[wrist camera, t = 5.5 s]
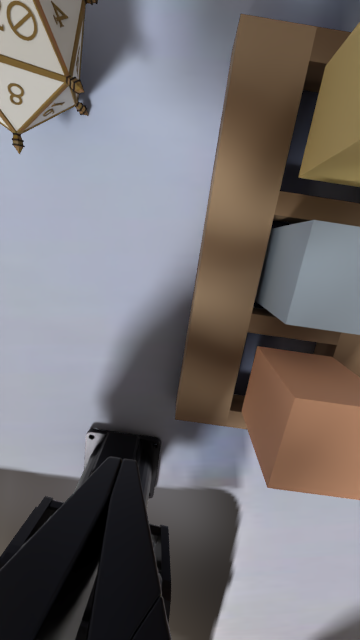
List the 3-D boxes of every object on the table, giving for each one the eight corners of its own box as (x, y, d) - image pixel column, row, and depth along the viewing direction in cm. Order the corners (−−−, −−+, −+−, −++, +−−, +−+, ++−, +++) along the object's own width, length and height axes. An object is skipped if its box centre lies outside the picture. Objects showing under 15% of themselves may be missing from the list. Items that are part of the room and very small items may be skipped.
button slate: (321, 310, 19) (381, 338, 13) (254, 300, 19) (285, 324, 13) (343, 239, 18) (421, 236, 12) (271, 228, 17) (313, 219, 12)
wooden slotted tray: (338, 423, 22) (356, 444, 20) (176, 401, 22) (174, 419, 19) (462, 87, 15) (510, 59, 13) (232, 49, 15) (240, 13, 13)
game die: (88, 88, 19) (147, -99, 11) (69, 197, 18) (117, 90, 10) (-78, -16, 14) (-210, -506, 6) (-113, 127, 13) (-324, -199, 5)
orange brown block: (310, 420, 18) (368, 501, 13) (241, 411, 18) (267, 487, 12) (332, 356, 17) (407, 413, 11) (257, 345, 17) (294, 397, 11)
